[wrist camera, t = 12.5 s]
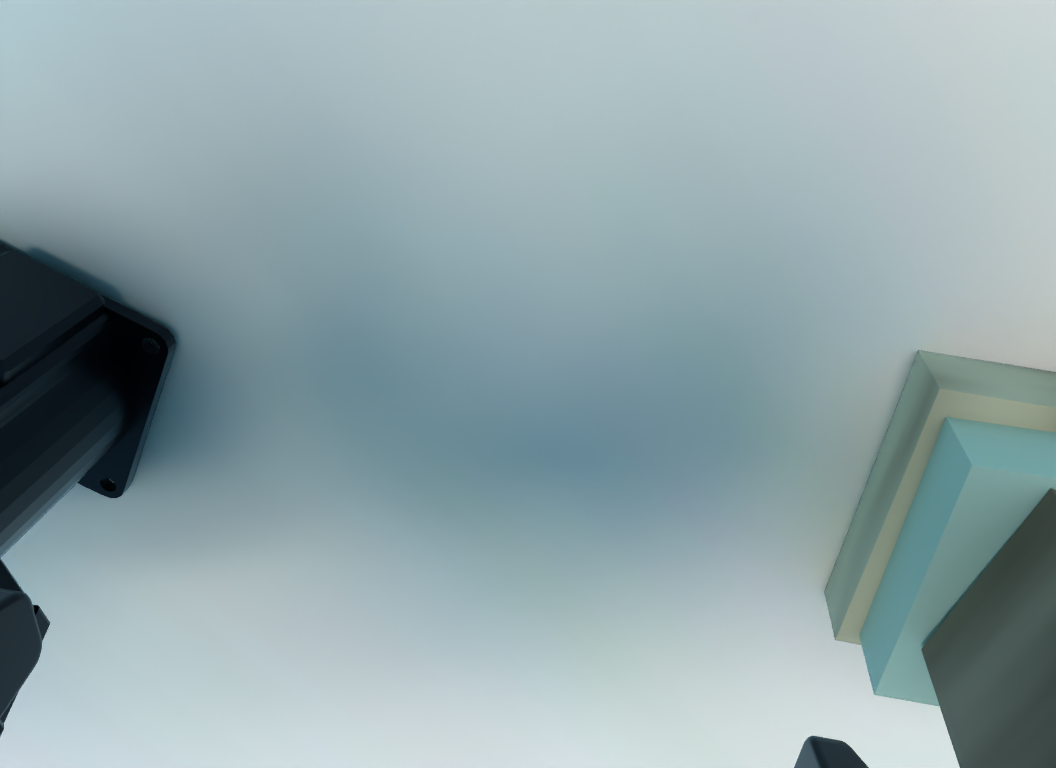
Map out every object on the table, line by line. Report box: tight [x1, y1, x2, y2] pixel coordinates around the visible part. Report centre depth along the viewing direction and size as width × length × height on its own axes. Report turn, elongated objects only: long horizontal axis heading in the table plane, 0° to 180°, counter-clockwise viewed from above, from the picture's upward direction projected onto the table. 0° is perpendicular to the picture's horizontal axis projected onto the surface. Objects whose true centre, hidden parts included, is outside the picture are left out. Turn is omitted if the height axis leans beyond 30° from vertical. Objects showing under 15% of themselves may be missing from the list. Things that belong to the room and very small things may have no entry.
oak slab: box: [825, 350, 1056, 645], centre depth 22 cm, size 8×8×2 cm
